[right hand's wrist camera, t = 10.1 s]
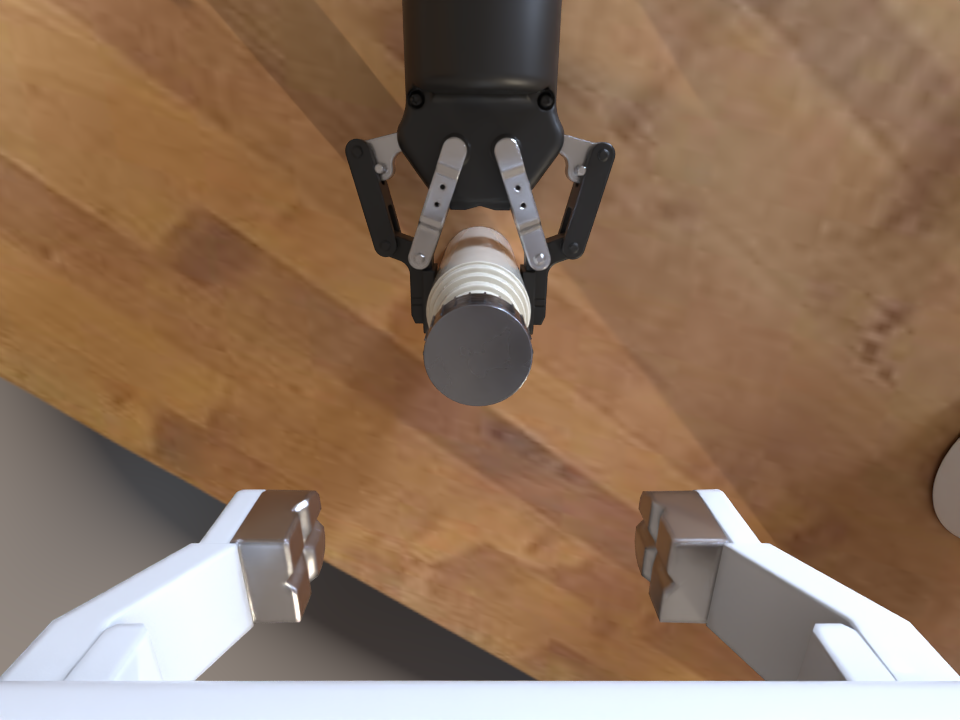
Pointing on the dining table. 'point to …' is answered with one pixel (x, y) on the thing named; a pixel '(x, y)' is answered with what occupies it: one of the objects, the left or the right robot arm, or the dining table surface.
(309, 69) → the dining table surface
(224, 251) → the dining table surface
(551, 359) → the dining table surface
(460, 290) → the bottle
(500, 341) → the cap
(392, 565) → the dining table surface
